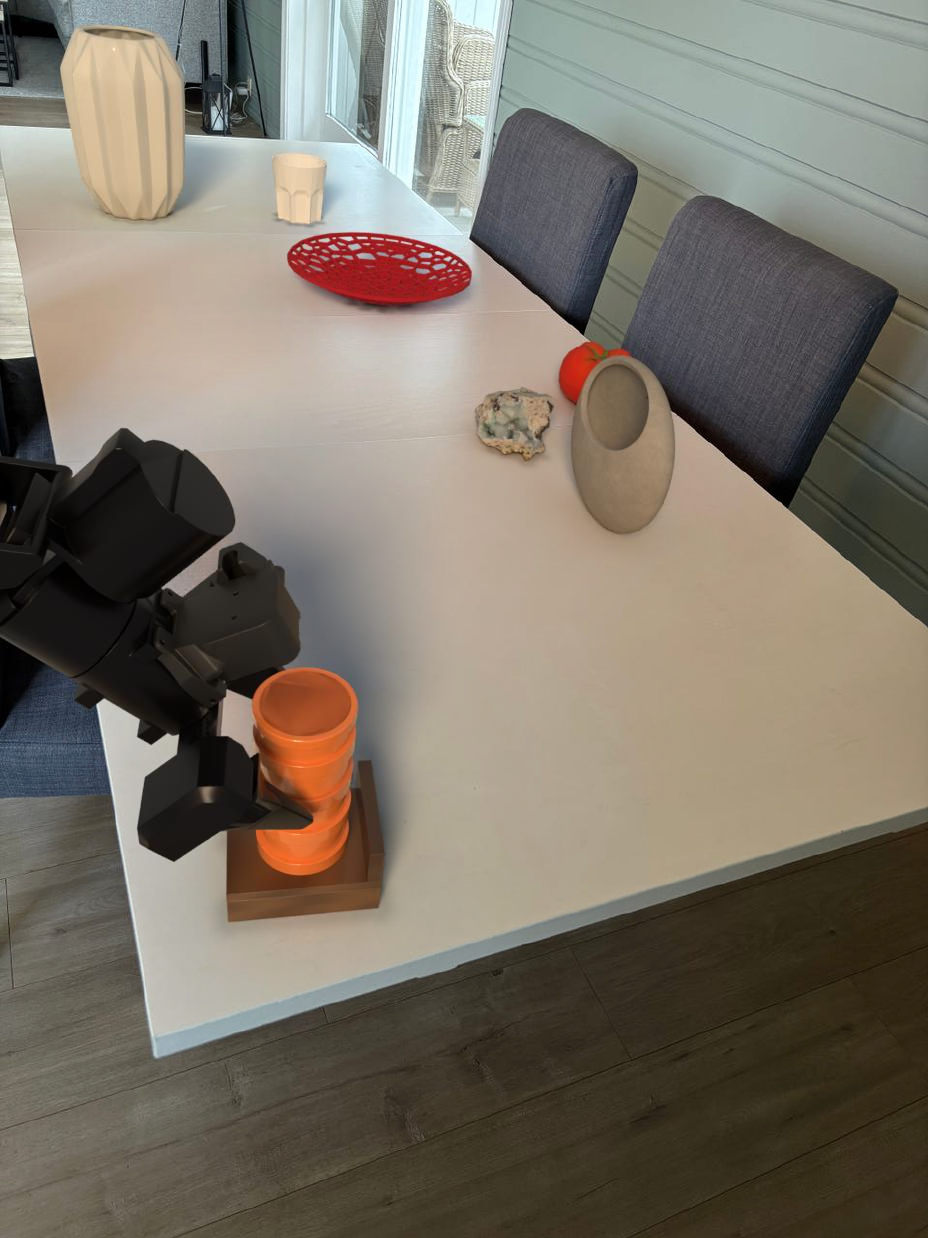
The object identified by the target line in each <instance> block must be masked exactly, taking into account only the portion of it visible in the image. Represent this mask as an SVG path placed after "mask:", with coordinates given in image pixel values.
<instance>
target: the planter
mask: <svg viewBox="0 0 928 1238" xmlns="http://www.w3.org/2000/svg"><path fill="white" fill-rule="evenodd" d="M574 409H575V410H574V412H573V418H572V423H571V436H570V457H571V465H572V471H573V475H574V480H575V483H576V486H577V489H578V493H579V495H580V496H581V499H582V501H583V503H584V505H585V507H586V509H587V510H588V511H589V513H590V515H592V517H593V518H594V519H595V520H596V521H597V522H598V523H599V524H600V525H601V526H603V527H604V528H605V529H608V530H609V531H610V532H614V533H618V534H623V535H625V534H633V533H636V532H639V531H641V530H642V529H644V528H646V527H647V526H648V525H650V524H651V523H652V521H653V520H654V519H655V518H656V517H657V515H658V514H659V512H660V510H661V509H662V507H663V505H664V502H665V501H666V499H667V496H668V493H669V490H670V486H671V484H672V479H673V473H674V468H675V458H676V436H675V435H676V433H675V423H674V418H673V414H672V409H671V406H670V402H669V399H668V397H667V394H666V392H665V390H664V388H663V386H662V384H661V381H660V380H659V379H658V378H657V376H656V375H655V374H654V372H653V371H652V370H651V369H650V368H649V367H648V366H647V365H646V364H644V363H643V362H642V361H640V360H639V359H636V358H635V357H632V356H631V357H629V356H624V355H616V356H611V357H608V358H606V359H604V360H603V361H601V362H600V363H598V364H597V365H596V366H595V367H594V368H593V369H592V371H591V372H590V374H589V375H588V377H587V379H586V381H585V383H584V385H583V387H582V390H581V393H580V395H579V398H578V402H577V404H576V406H575V408H574Z"/></svg>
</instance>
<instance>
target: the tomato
mask: <svg viewBox="0 0 928 1238" xmlns="http://www.w3.org/2000/svg"><path fill="white" fill-rule="evenodd" d="M616 355H624V356H629V357H632V355H631V354H630V352H628V351H627V350H626V349H624V348H623V349H622V348H614V349H610V350H609V349H607V350H606V348H604V347H603V346H602V345H601V344H600V343H598V342H595V341H585V342H583V343H582V342H581V344H580V345H579V346H575V347H574V348H572V349H570V350H569V351H568V352H567V353H566V355H565V356H564V358H563V359H562V361H561V364H560V367H559V372H558V384H559V388H560V391H561V392H562V394H563V396H565V397H566V398H567V399H569V400H570V401H572V402H573V403H575V404H576V405H577V402H578V398H579V395H580V393H581V390H582V387H583V385H584V383H585V381H586V379H587V377H588V375H589V374H590V372H591V371H592V369H593V368H594V367H595V366H596V365H597V364H598V363H600V362H601V361H603V360H604V359H606V358H608V357H611V356H616Z"/></svg>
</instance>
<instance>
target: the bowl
mask: <svg viewBox="0 0 928 1238" xmlns="http://www.w3.org/2000/svg"><path fill="white" fill-rule="evenodd" d="M344 238H351V239H352V240H347V239H344ZM325 239H326V240H327V239H328V241H320V240H325ZM304 245H306V246H308V247H311V249H306V248H304ZM352 245H358V246H359V248H356V249H351V248H350V247H349V246H352ZM330 246H334V247H336V248H337V249H338V250H337V249H332V248H330ZM299 248H300V249H299ZM298 249H299V250H298ZM326 251H327V252H326ZM437 252H438V253H440V254H437ZM378 253H380V254H378ZM381 253H382V254H385V255H381ZM360 254H367V255H371V256H372V257H373V258H362V257H361V258H360V257H359V256H358V255H360ZM422 254H430V255H431V256H430V257H421V256H420V255H422ZM333 256H336V257H333ZM394 256H403V258H400V257H394ZM322 257H324V258H327V260H325V259H324V258H322ZM348 257H351V258H348ZM449 257H450V259H449V260H446V259H447V258H449ZM412 258H414V259H415V260H417V261H412V260H409V259H412ZM436 259H437V260H436ZM286 261H287V264H288V266H289V268H290V269H291V270H292V271H293V272H294V274H296V275H297V276H298V277H300V278H301V279H303V280H305V281H306V282H308V283H310V284H313V285H314V286H317V287H319V288H321V289H324V290H326V291H328V292H331V293H334V294H336V295H339V296H342V297H345V298H348V299H350V300H355V301H358V302H362V303H366V304H372V305H378V306H402V305H413V304H420V303H427V302H428V303H429V302H434V301H438V300H442V299H445V298H449V297H453V296H455V295H457V294H459V293H461V292H463V291H465V290H466V289H467V288H468V287H470V285H471V282H472V277H473V270H472V268H471V267H470V265H469V263H467V262H466V261H465V260H464V259H463V258H461V257H460V256H458V255H457V254H455V253H453V252H452V251H450V250H447V249H445V248H443V247H440V246H438V245H436V244H432V243H428V242H425V241H422V240H418V239H414V238H409V237H406V236H400V235H394V234H387V233H378V232H362V231H361V232H359V231H346V232H329V233H322V234H316V235H312V236H309V237H306V238H304V239H301V240H300V241H298V242H296V243H295V244H293V245H291V247H290V249H289V250H288V252H287V253H286ZM454 261H456V262H455V263H453V262H454ZM427 263H429V264H427ZM459 264H460V265H459ZM438 265H445V266H444V267H442V268H438V269H435V268H434V266H438ZM311 266H312V267H311ZM403 266H404V267H403ZM313 267H314V268H313ZM405 267H408V268H405ZM315 268H317V269H319V270H317V269H315ZM418 269H419V270H425V271H426V270H427V271H428V272H426V273H421V272H418V271H417V270H418ZM433 277H434V278H433Z"/></svg>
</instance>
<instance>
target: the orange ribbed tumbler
mask: <svg viewBox="0 0 928 1238" xmlns="http://www.w3.org/2000/svg"><path fill="white" fill-rule="evenodd" d="M358 709H359V701H358V697H357V694H356V692H355V690H354V689H353V687H352V686H351V684H350V683H349V682H347V680H346V679H344V678H343V677H341V676H340V675H338V674H336V673H334V672H331V671H330V670H326V669H323V668H319V667H311V666H310V667H309V666H307V667H305V666H303V667H293V668H288V669H285V670H284V671H281V672H278V673H276V674H274V675H272V676H271V677H269V678H268V679H266V680H265V681H264V682H263V683H262V684H261V685H260V686H259V687H258V689H257V690H256V692H255V694H254V696H253V700H252V699H251V716H252V721H253V725H252V748H253V751H254V755H255V754H256V753H259V754H260V763H261V776H262V778H264V779H265V780H267V781H268V782H269V783H271V784H272V785H274V786H275V787H276V788H278V789H279V790H281V791H282V792H284V793H285V794H286V795H288V796H289V797H291V798H292V799H293V800H295V801H296V802H298V803H299V804H300V805H301V806H303V807H304V808H305V809H306V810H307V811H308V812H309V813H310V814H312V815H313V823H312V824H310V825H309V826H307V827H305V828H304V829H301V830H256V844H257V848H258V851H259V853H260V855H261V857H262V858H263V859H264V861H265V862H266V863H267V864H269V865H270V866H271V867H273V868H274V869H276V870H278V871H280V872H283V873H286V874H290V875H311V874H315V873H318V872H321V871H323V870H325V869H327V868H329V867H330V866H332V865H333V864H334V863H336V862H337V861H338V860H339V858H340V857H341V856H342V855H343V853H344V851H345V849H346V847H347V843H348V835H349V821H348V817H349V814H350V808H351V790H350V788H351V787H352V783H353V778H354V777H353V776H354V766H355V765H354V758H353V754H354V751H355V749H356V747H355V746H356V738H357V725H356V722H357V720H358V719H357V718H358V711H359V710H358Z"/></svg>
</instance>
